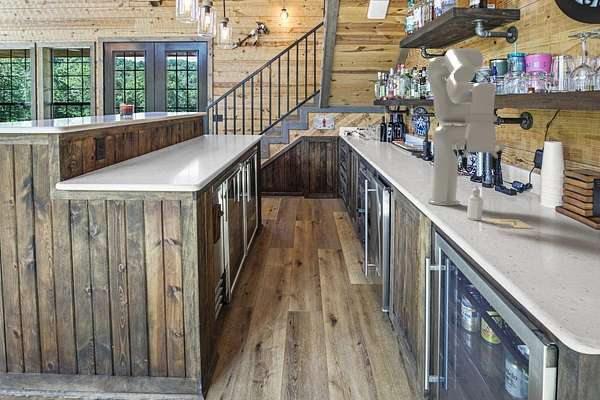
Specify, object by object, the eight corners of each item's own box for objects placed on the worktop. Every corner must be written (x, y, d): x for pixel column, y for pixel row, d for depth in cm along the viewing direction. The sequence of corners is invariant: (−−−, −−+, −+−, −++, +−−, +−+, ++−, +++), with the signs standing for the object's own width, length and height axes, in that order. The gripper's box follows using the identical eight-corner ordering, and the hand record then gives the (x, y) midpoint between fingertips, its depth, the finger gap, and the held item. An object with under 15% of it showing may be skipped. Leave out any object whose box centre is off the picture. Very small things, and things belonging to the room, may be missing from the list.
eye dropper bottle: (469, 220, 209) (472, 186, 207) (466, 217, 215) (468, 184, 213) (482, 221, 209) (484, 187, 207) (478, 218, 214) (481, 184, 212)
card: (486, 219, 212) (486, 218, 212) (517, 220, 212) (517, 219, 212) (499, 227, 198) (500, 226, 198) (533, 228, 198) (533, 227, 198)
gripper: (503, 119, 210) (499, 168, 212) (453, 118, 209) (450, 167, 212) (510, 120, 202) (506, 170, 205) (459, 119, 202) (456, 169, 205)
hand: (478, 169), depth 208 cm, fingers open, 9 cm apart
